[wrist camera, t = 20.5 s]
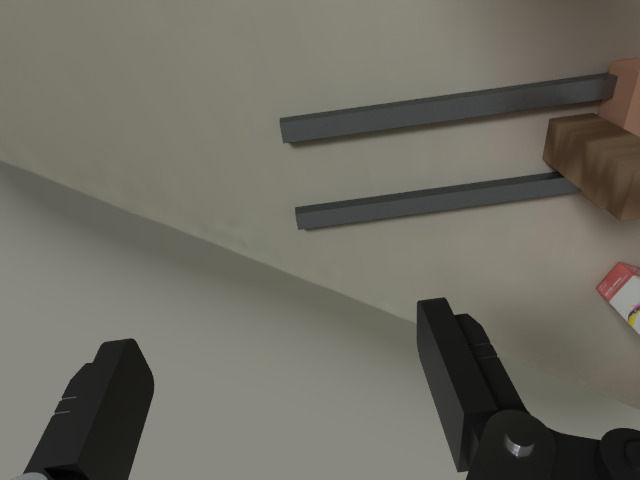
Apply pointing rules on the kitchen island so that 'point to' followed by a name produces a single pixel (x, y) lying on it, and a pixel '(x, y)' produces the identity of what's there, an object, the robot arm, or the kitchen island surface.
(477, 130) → the kitchen island surface
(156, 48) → the kitchen island surface
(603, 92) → the guide track
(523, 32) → the kitchen island surface
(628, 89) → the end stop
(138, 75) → the kitchen island surface
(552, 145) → the block
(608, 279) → the ink cartridge box
